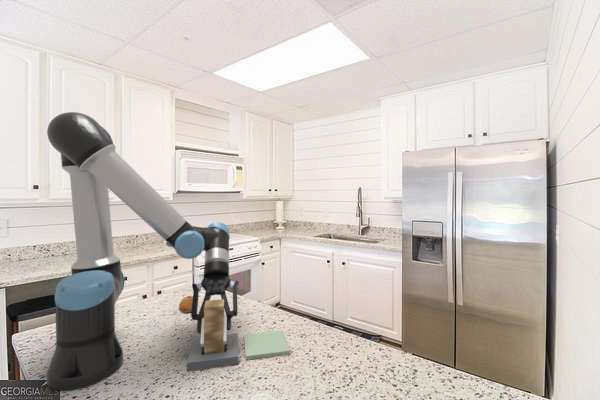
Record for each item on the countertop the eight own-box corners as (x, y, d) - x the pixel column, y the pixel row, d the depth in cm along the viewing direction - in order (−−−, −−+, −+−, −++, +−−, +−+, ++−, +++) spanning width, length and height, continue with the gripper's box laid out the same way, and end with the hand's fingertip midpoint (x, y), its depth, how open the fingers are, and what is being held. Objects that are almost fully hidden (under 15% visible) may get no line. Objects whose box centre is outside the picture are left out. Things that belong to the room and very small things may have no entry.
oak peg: (204, 360, 75) (203, 307, 75) (205, 350, 80) (205, 300, 80) (223, 357, 76) (223, 305, 76) (224, 348, 81) (224, 299, 81)
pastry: (198, 312, 106) (198, 302, 106) (178, 315, 104) (178, 305, 104) (197, 303, 115) (197, 294, 115) (179, 306, 112) (179, 296, 112)
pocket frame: (186, 371, 71) (186, 363, 71) (193, 345, 83) (193, 338, 83) (238, 364, 74) (238, 356, 74) (237, 340, 86) (237, 333, 86)
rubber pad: (245, 360, 76) (245, 356, 75) (243, 337, 87) (243, 334, 87) (290, 354, 78) (290, 350, 78) (282, 333, 90) (282, 330, 90)
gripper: (245, 270, 95) (248, 344, 79) (187, 273, 91) (178, 352, 75) (246, 257, 90) (249, 335, 74) (184, 260, 86) (174, 343, 70)
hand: (213, 343), depth 75 cm, fingers closed on oak peg, 5 cm apart
